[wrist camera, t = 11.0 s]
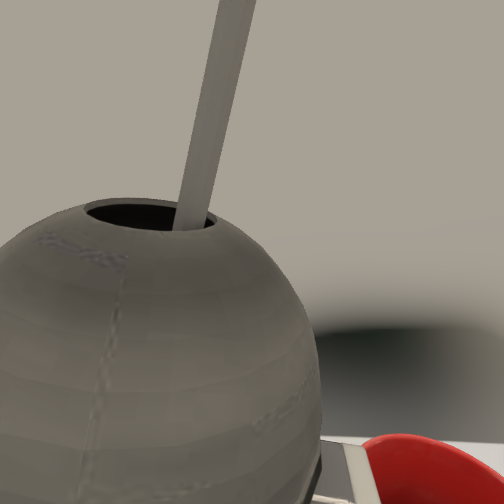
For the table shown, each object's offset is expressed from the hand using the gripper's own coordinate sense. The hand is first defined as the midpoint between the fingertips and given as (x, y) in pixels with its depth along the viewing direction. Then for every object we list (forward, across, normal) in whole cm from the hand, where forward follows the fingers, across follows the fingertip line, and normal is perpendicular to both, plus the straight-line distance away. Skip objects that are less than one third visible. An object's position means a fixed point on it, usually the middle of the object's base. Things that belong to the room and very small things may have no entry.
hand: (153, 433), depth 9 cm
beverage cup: (-1, 0, -10) cm, 10 cm away
